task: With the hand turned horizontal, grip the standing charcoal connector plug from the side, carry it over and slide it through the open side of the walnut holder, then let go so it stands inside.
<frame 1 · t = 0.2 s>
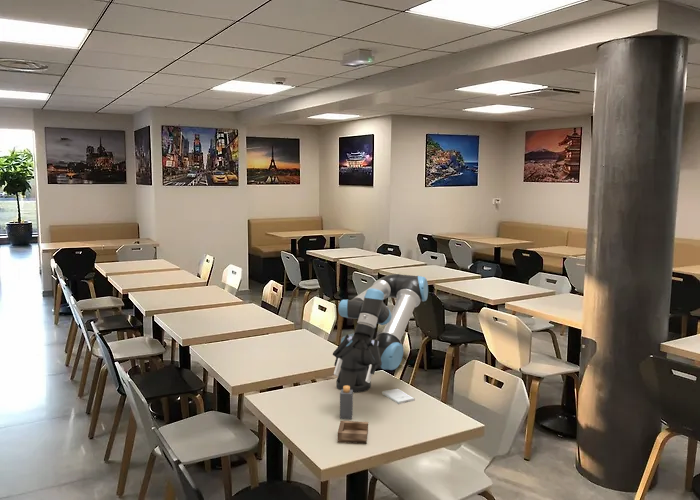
hand: (351, 378, 217), 15 cm above the table, tool tilted 35°, fingers open, 13 cm apart
holder: (353, 436, 200), on the table
external hard drive: (398, 398, 238), on the table
connector plug: (346, 416, 217), on the table
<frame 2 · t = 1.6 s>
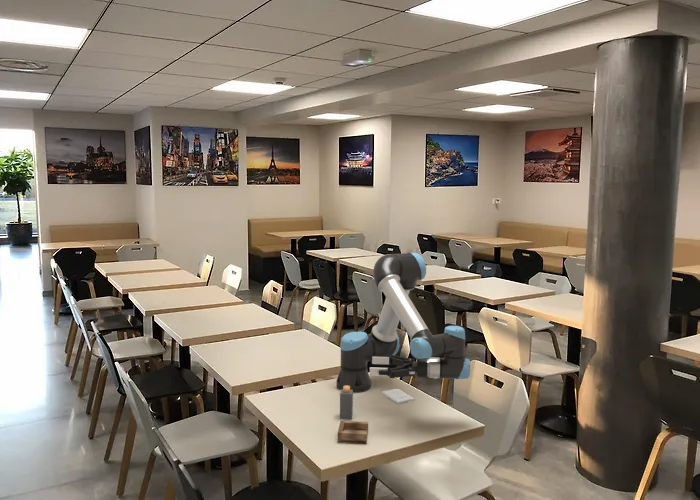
hand: (370, 365, 214), 21 cm above the table, tool horizontal, fingers open, 13 cm apart
nothing on the table moved.
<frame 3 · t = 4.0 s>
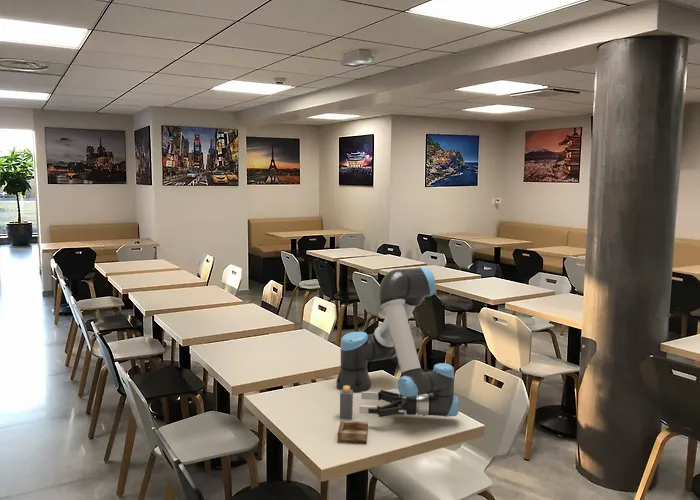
hand: (360, 402, 215), 6 cm above the table, tool horizontal, fingers open, 13 cm apart
nothing on the table moved.
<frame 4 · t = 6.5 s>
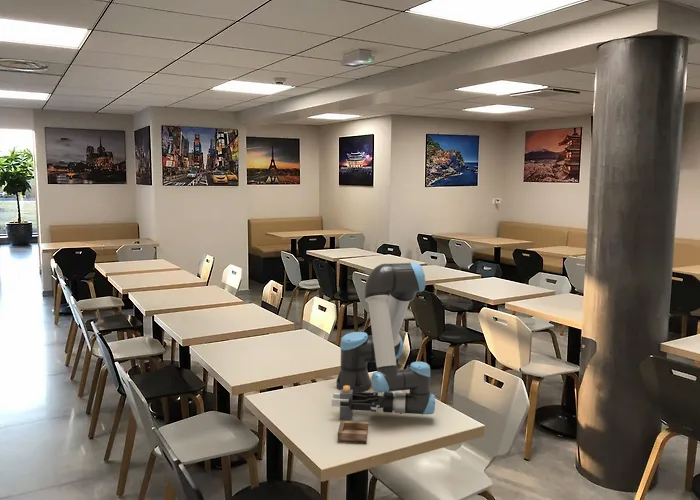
hand: (332, 399, 217), 7 cm above the table, tool horizontal, fingers closed on connector plug, 4 cm apart
connector plug: (346, 416, 217), on the table, touching gripper
everything else where it was.
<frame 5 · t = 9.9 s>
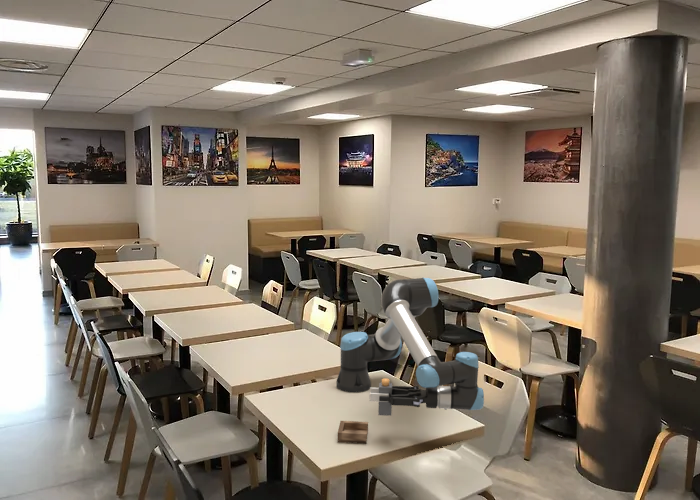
hand: (370, 394, 198), 16 cm above the table, tool horizontal, fingers closed on connector plug, 4 cm apart
connector plug: (385, 412, 198), point 9 cm above the table, touching gripper
everything else where it was.
when the fingers open (9 cm above the table, at t = 13.5 s): connector plug drops 1 cm, resting on holder.
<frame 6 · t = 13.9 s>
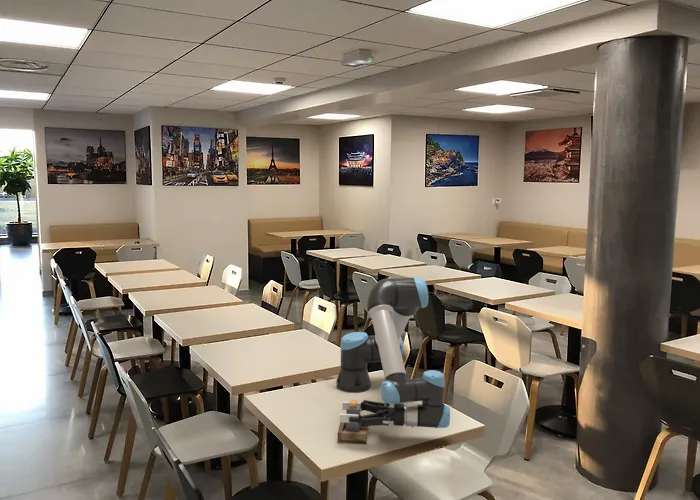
hand: (341, 411, 200), 9 cm above the table, tool horizontal, fingers open, 10 cm apart
connector plug: (353, 433, 200), point 1 cm above the table, touching holder
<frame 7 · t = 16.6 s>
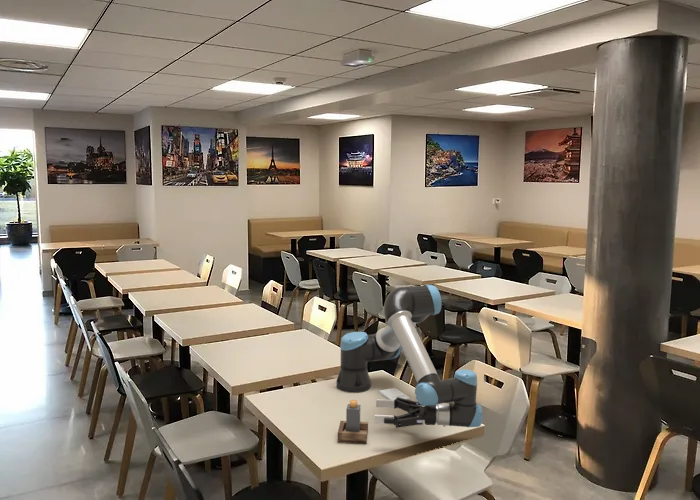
hand: (375, 410, 199), 10 cm above the table, tool horizontal, fingers open, 13 cm apart
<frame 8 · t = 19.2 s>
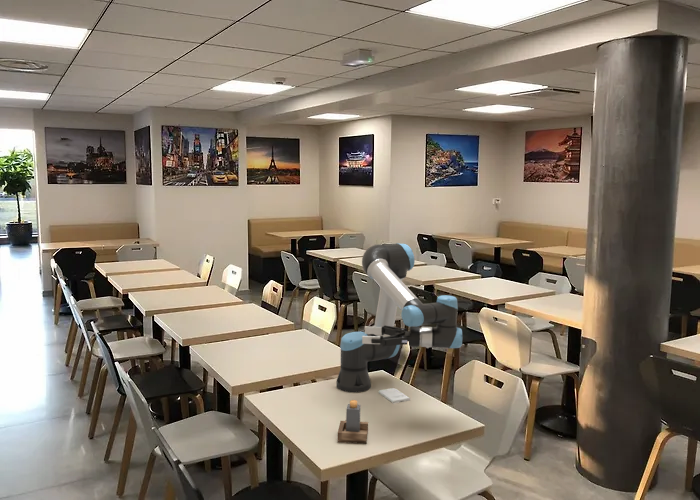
hand: (363, 334, 215), 32 cm above the table, tool horizontal, fingers open, 13 cm apart
at the end: connector plug 0.1 cm off-centre on the holder, point 1.0 cm above the holder's base; connector plug tilted 0°; the gripper is holding nothing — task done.
